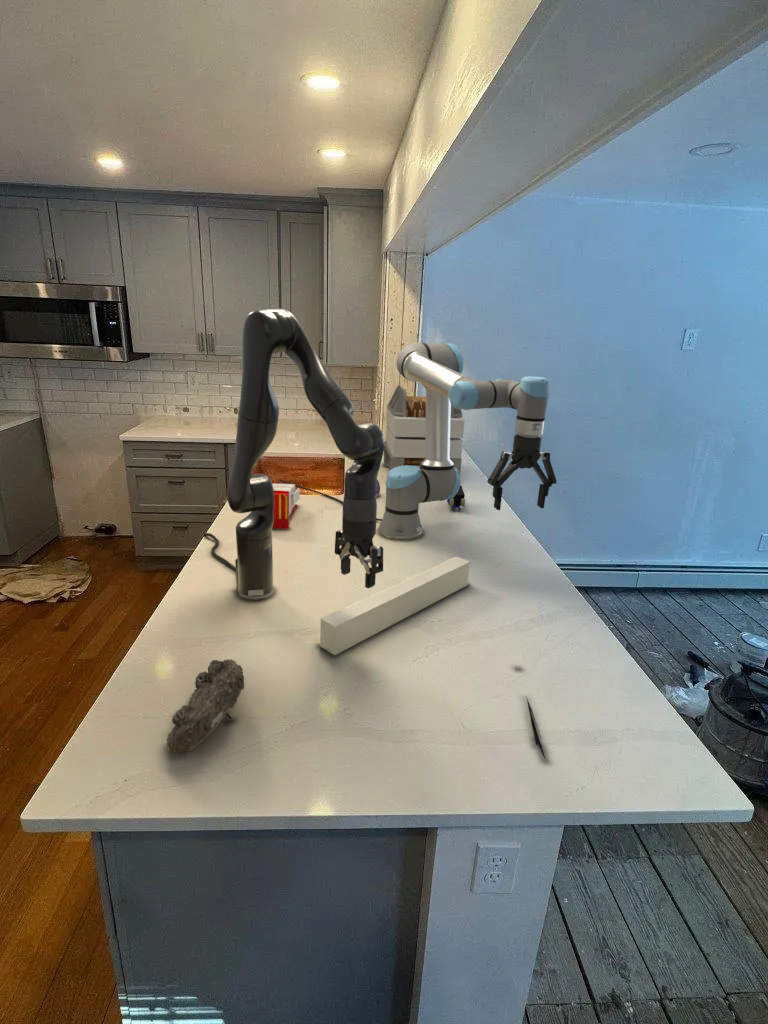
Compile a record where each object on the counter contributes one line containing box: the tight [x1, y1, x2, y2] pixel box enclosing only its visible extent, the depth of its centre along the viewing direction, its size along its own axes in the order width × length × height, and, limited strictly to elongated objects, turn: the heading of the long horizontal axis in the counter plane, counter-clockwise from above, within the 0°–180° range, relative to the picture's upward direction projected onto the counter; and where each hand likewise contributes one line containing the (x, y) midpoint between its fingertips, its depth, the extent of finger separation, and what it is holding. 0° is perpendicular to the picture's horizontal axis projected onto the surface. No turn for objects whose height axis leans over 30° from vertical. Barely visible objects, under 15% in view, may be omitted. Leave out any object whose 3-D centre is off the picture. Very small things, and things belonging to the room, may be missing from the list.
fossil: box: [166, 658, 245, 754], centre depth 106 cm, size 22×10×15 cm
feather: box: [517, 666, 549, 759], centre depth 114 cm, size 2×28×2 cm
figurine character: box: [446, 484, 466, 511], centre depth 229 cm, size 7×8×15 cm
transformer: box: [383, 384, 465, 476], centre depth 268 cm, size 34×33×41 cm
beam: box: [319, 556, 471, 656], centre depth 147 cm, size 52×5×8 cm, turn 137°
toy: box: [272, 483, 301, 530], centre depth 210 cm, size 12×13×30 cm
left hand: (357, 580), depth 131 cm, fingers open, 8 cm apart
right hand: (518, 507), depth 163 cm, fingers open, 13 cm apart
